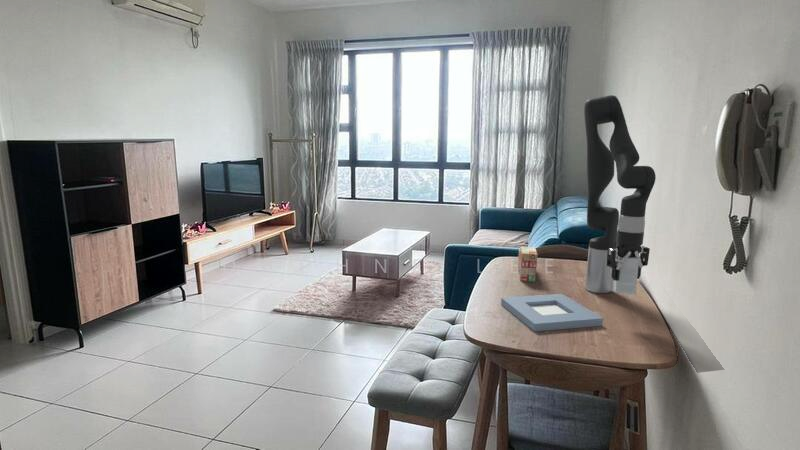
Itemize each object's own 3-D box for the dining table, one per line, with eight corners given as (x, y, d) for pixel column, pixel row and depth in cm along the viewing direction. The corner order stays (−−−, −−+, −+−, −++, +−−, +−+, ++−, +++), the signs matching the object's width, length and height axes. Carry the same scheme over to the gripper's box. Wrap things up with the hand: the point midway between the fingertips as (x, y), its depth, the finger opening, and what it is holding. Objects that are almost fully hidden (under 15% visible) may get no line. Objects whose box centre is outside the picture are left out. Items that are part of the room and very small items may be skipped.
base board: (561, 300, 171) (561, 293, 170) (602, 325, 148) (603, 318, 147) (500, 304, 166) (501, 297, 165) (534, 331, 143) (534, 323, 142)
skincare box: (633, 291, 151) (637, 255, 149) (635, 295, 147) (639, 259, 145) (613, 289, 153) (616, 254, 150) (614, 293, 149) (618, 257, 146)
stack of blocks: (517, 267, 214) (519, 241, 212) (531, 268, 213) (533, 242, 211) (520, 281, 194) (521, 252, 191) (535, 282, 192) (537, 253, 190)
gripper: (641, 226, 151) (636, 274, 154) (603, 227, 148) (598, 277, 151) (659, 230, 144) (653, 281, 147) (619, 232, 141) (614, 284, 144)
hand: (625, 279), depth 149 cm, fingers closed on skincare box, 7 cm apart
